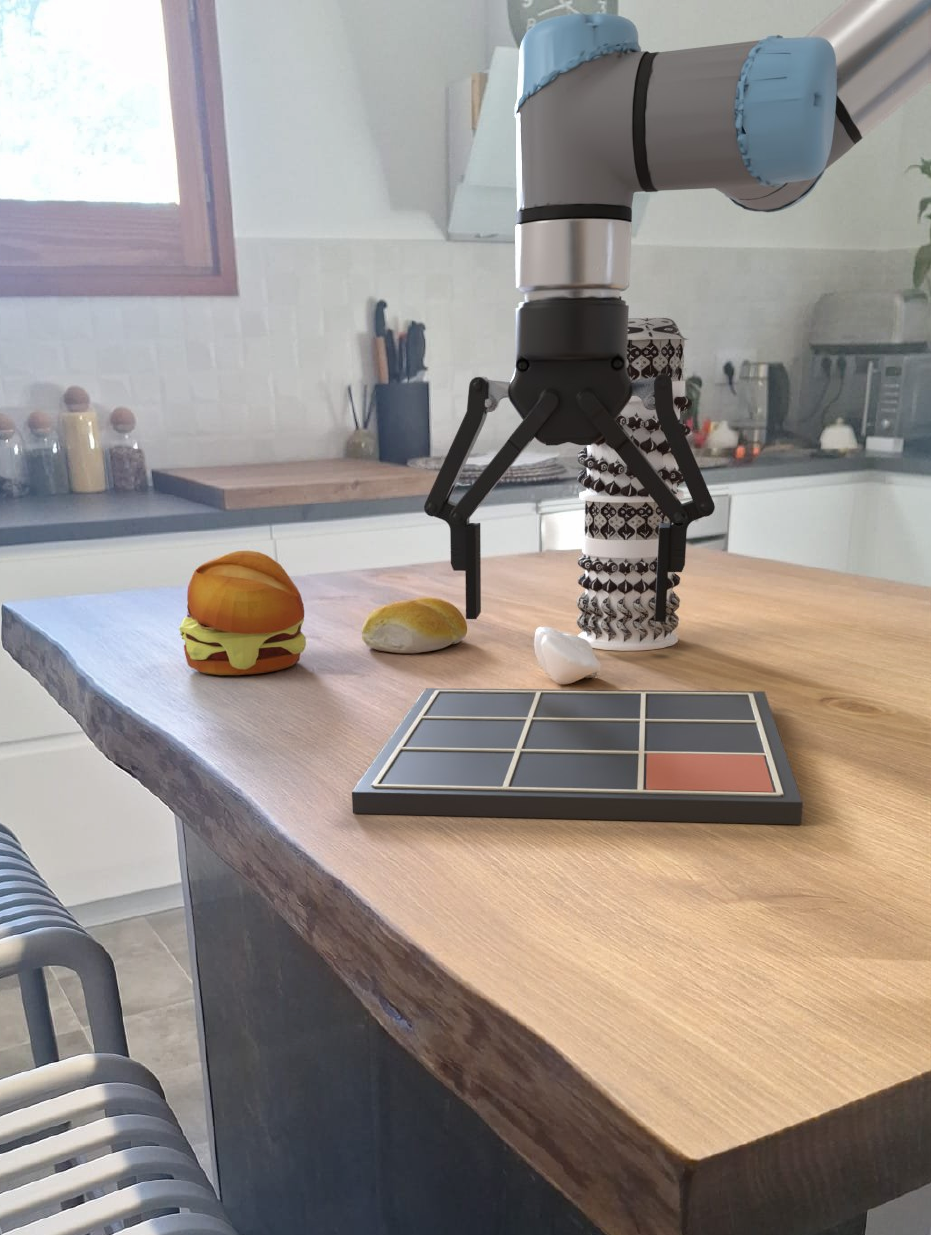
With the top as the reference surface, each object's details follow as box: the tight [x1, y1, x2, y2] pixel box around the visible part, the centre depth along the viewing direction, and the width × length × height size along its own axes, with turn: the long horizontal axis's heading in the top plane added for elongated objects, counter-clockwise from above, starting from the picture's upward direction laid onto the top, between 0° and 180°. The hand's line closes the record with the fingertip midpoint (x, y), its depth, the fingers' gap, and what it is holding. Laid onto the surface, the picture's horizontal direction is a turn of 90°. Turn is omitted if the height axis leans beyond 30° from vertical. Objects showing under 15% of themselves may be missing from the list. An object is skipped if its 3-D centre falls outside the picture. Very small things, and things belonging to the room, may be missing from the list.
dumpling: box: [533, 626, 608, 686], centre depth 91 cm, size 7×5×4 cm
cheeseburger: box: [178, 550, 307, 676], centre depth 98 cm, size 10×11×10 cm
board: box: [351, 687, 804, 826], centre depth 74 cm, size 23×23×1 cm
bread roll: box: [361, 596, 468, 654], centre depth 105 cm, size 8×9×4 cm
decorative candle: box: [576, 317, 694, 652], centre depth 100 cm, size 9×9×25 cm
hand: (565, 617), depth 90 cm, fingers open, 13 cm apart
